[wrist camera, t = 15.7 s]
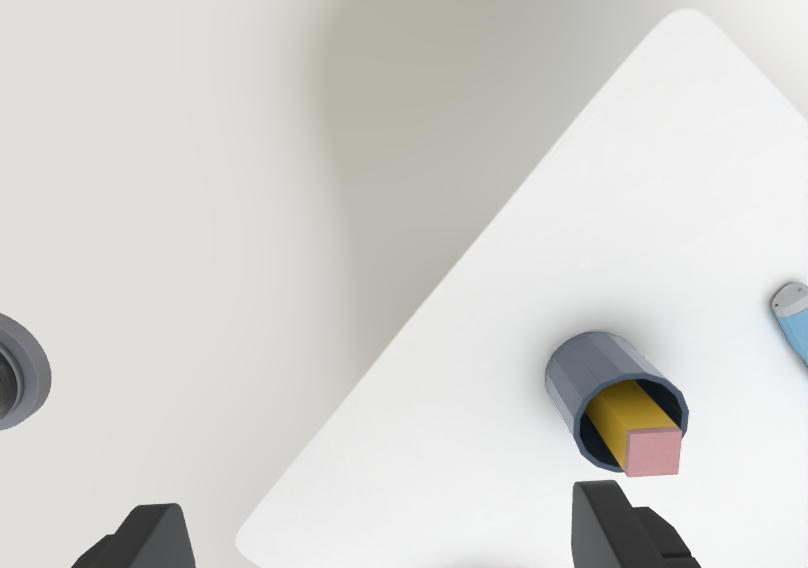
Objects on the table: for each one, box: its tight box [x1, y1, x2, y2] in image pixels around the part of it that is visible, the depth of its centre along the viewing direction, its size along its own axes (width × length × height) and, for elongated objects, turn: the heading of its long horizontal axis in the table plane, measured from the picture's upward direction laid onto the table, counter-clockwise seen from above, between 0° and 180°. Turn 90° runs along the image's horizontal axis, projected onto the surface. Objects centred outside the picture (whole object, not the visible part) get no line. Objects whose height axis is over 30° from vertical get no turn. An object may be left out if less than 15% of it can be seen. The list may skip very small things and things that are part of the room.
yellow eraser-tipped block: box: [584, 379, 682, 477], centre depth 38 cm, size 4×4×11 cm
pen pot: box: [545, 332, 689, 473], centre depth 40 cm, size 9×9×8 cm
